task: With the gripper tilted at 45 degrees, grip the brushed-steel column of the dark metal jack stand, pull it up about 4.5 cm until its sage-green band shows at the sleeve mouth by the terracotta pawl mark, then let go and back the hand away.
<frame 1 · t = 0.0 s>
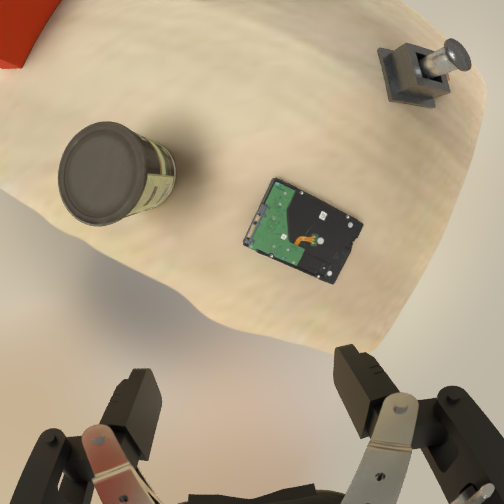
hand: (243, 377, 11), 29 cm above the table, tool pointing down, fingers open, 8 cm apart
coffee can: (142, 175, 36), on the table
column: (432, 65, 27), point 8 cm above the table, slide at 0.0 cm
stand: (406, 78, 34), on the table
disk drive: (301, 230, 40), on the table
file binder: (31, 32, 26), on the table
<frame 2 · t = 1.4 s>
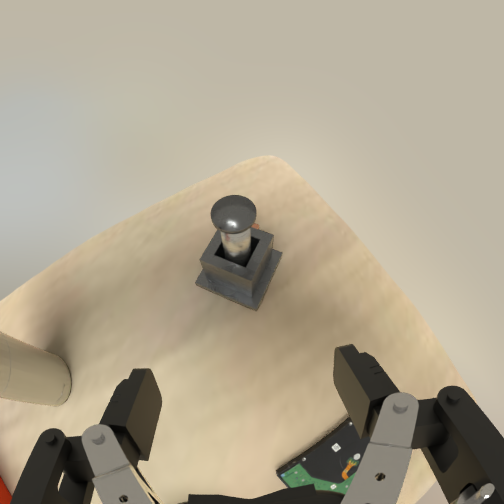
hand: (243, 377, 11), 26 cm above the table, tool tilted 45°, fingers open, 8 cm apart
column: (236, 243, 36), point 8 cm above the table, slide at 0.0 cm
stand: (239, 270, 43), on the table
disk drive: (338, 463, 28), on the table
file binder: (1, 490, 17), on the table
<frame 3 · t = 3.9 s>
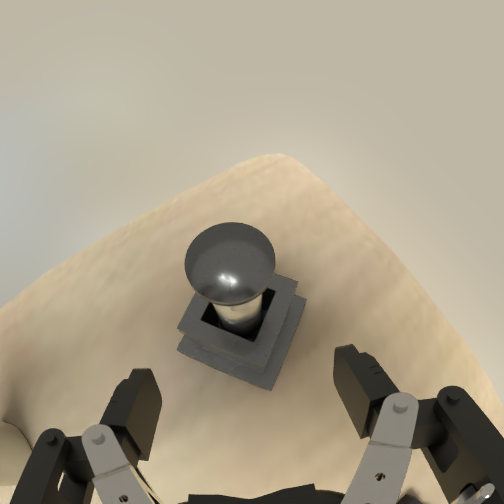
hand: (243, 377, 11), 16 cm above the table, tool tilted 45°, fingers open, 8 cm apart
column: (237, 301, 21), point 8 cm above the table, slide at 0.0 cm
stand: (243, 328, 28), on the table
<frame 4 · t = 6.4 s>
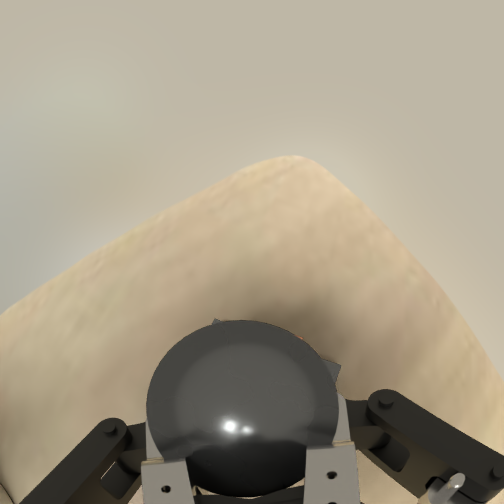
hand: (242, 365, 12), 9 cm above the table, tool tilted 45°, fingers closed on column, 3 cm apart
column: (249, 406, 12), point 8 cm above the table, slide at 0.0 cm, touching gripper
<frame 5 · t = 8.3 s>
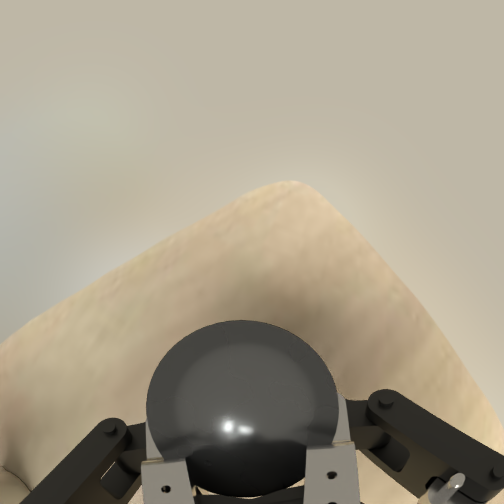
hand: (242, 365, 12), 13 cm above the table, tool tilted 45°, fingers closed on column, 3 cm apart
column: (249, 406, 12), point 12 cm above the table, slide at 4.4 cm, touching gripper
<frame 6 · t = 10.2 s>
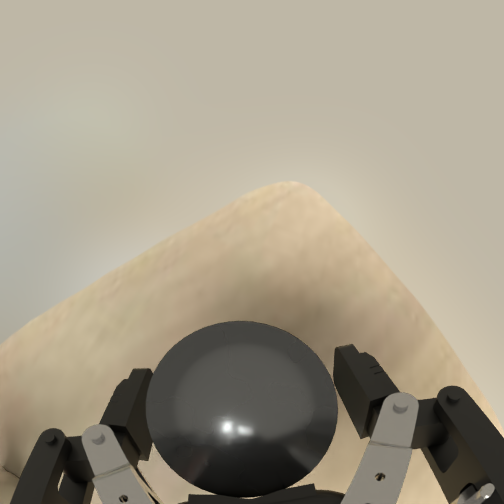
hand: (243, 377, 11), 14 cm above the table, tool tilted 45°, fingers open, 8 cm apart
column: (249, 406, 12), point 12 cm above the table, slide at 4.5 cm
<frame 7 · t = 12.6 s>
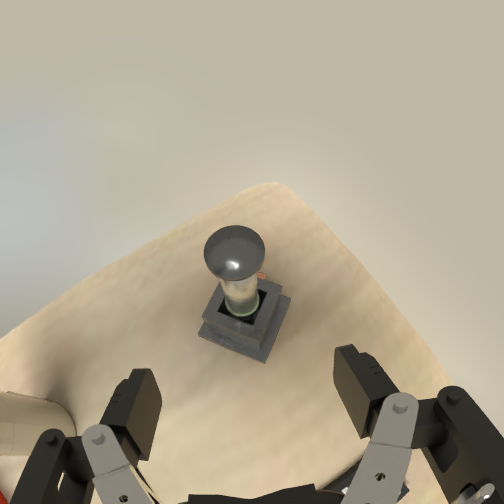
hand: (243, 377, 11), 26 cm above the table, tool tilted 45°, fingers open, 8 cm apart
column: (239, 283, 28), point 12 cm above the table, slide at 4.5 cm
stand: (245, 318, 39), on the table
disk drive: (347, 501, 24), on the table
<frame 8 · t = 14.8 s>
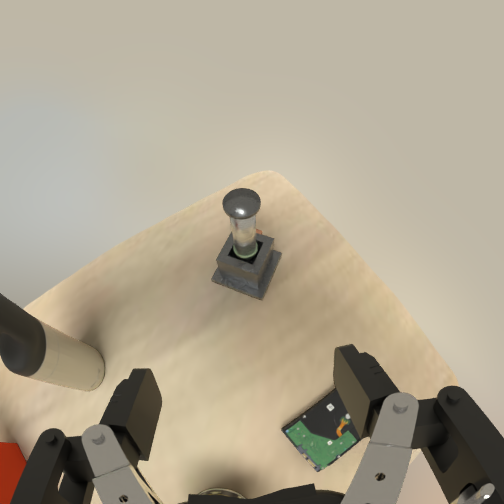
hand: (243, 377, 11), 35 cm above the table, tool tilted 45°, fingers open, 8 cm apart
column: (244, 230, 42), point 12 cm above the table, slide at 4.5 cm
stand: (247, 268, 53), on the table
disk drive: (333, 423, 38), on the table
file binder: (28, 479, 26), on the table
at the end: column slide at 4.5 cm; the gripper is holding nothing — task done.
